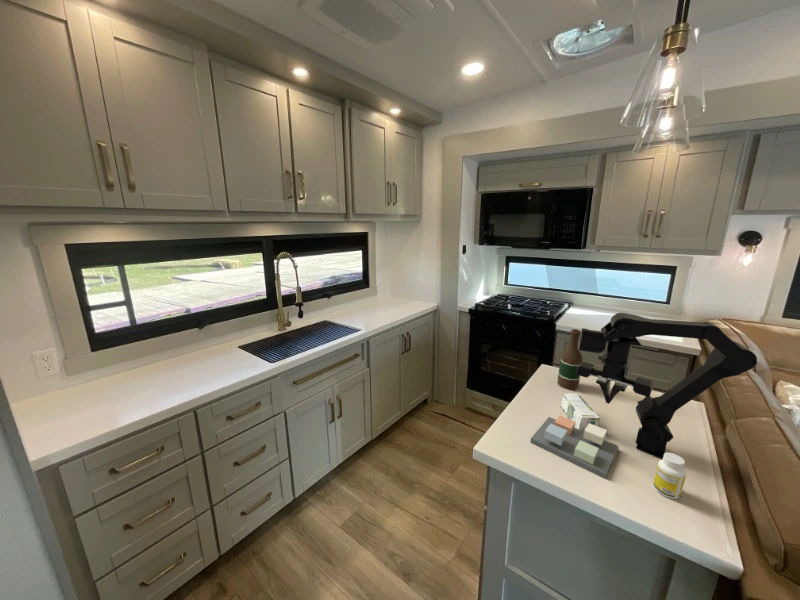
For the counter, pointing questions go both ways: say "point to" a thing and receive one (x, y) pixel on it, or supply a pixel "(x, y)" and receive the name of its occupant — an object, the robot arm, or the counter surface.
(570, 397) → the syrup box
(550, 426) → the slate blue key
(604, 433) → the cream key
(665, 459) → the supplement bottle
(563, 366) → the beer bottle
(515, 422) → the counter surface
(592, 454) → the sage green key
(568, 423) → the terracotta key
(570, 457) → the keypad base
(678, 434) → the counter surface
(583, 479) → the counter surface
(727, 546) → the counter surface
